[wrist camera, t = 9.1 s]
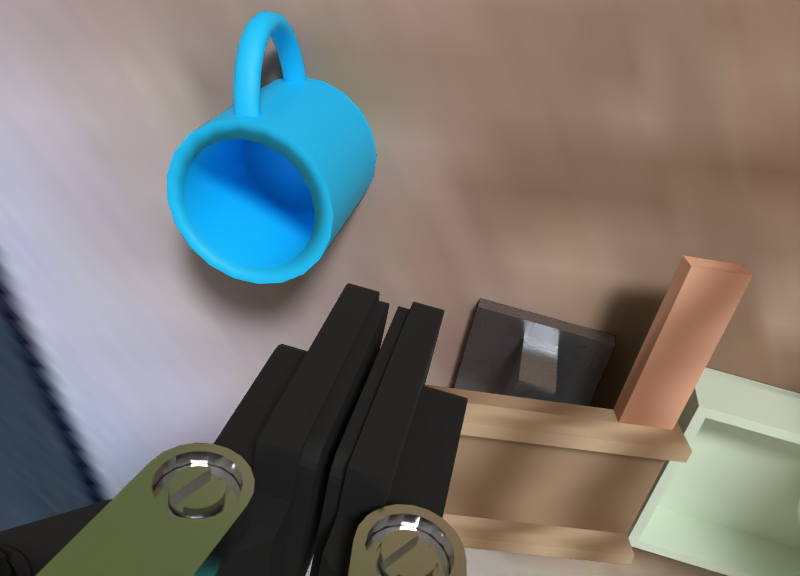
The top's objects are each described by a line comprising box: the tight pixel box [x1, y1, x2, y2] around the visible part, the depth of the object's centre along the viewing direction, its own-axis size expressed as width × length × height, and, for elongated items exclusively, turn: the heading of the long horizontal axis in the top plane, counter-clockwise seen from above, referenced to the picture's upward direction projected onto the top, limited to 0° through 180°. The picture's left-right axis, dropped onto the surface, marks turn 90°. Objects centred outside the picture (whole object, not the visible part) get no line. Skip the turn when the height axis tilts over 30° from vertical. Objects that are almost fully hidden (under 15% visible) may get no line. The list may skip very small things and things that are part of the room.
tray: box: [627, 367, 800, 576], centre depth 42 cm, size 13×11×4 cm
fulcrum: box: [454, 298, 615, 406], centre depth 43 cm, size 8×12×5 cm, turn 168°
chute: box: [425, 256, 753, 565], centre depth 36 cm, size 16×18×4 cm
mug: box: [167, 11, 376, 284], centre depth 36 cm, size 12×8×8 cm
